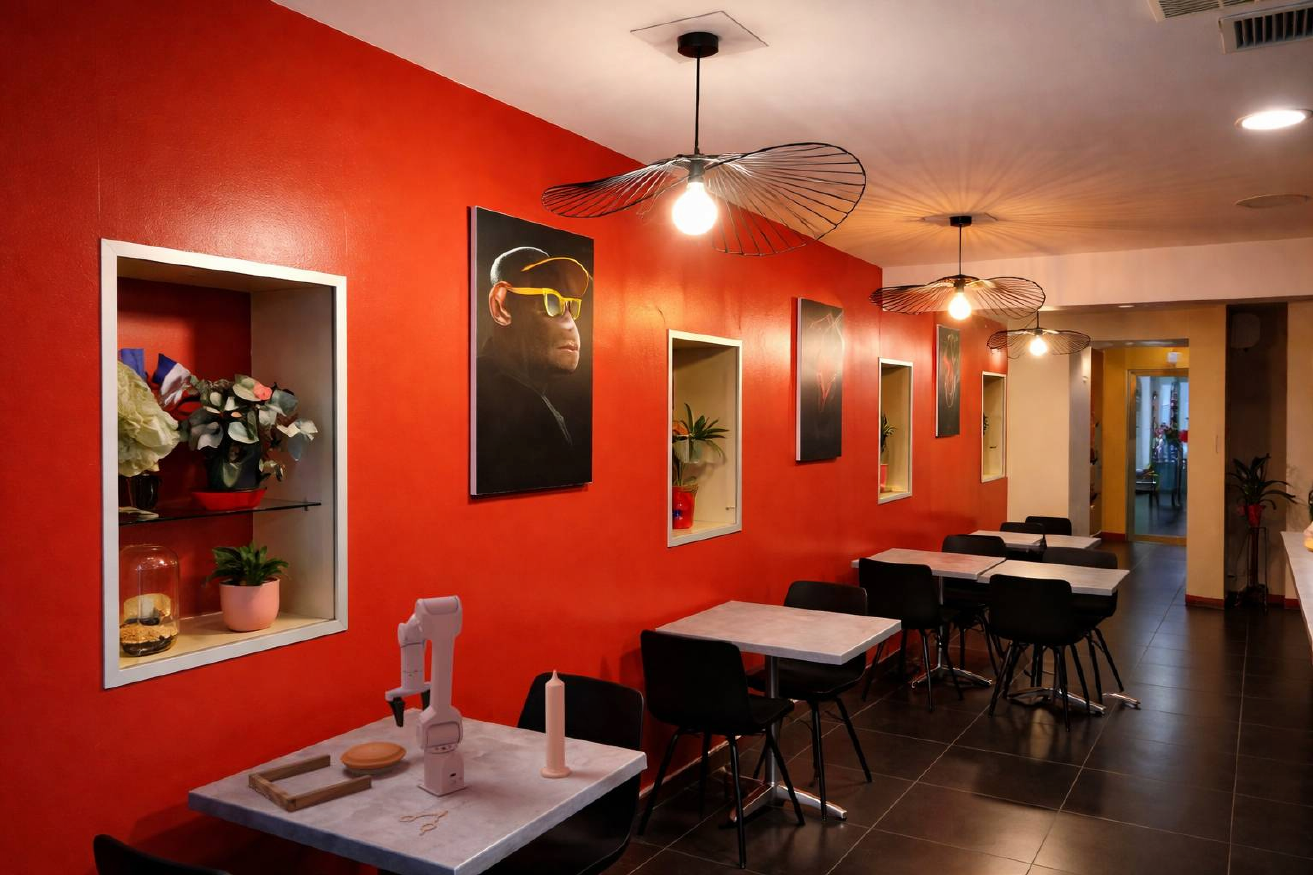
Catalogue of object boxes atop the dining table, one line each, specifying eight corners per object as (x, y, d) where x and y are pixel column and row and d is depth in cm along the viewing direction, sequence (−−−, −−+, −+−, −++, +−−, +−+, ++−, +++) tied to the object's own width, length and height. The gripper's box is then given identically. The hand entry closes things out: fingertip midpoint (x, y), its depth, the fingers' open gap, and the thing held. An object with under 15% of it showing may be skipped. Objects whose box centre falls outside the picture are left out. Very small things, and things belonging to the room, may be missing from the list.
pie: (327, 771, 229) (327, 750, 229) (380, 753, 242) (380, 734, 242) (365, 785, 220) (365, 764, 220) (419, 766, 232) (418, 746, 232)
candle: (562, 779, 222) (562, 674, 222) (535, 776, 225) (535, 672, 225) (574, 769, 229) (574, 667, 229) (548, 766, 231) (547, 665, 231)
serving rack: (371, 787, 219) (371, 776, 219) (289, 811, 205) (289, 800, 205) (327, 763, 234) (327, 753, 234) (248, 785, 220) (248, 774, 220)
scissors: (389, 820, 199) (464, 791, 215) (389, 824, 199) (464, 794, 215) (420, 834, 192) (495, 803, 208) (420, 838, 192) (495, 806, 208)
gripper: (428, 661, 247) (429, 713, 247) (378, 672, 237) (379, 725, 237) (443, 666, 242) (444, 718, 242) (393, 677, 232) (394, 732, 232)
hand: (413, 722), depth 239 cm, fingers open, 7 cm apart
